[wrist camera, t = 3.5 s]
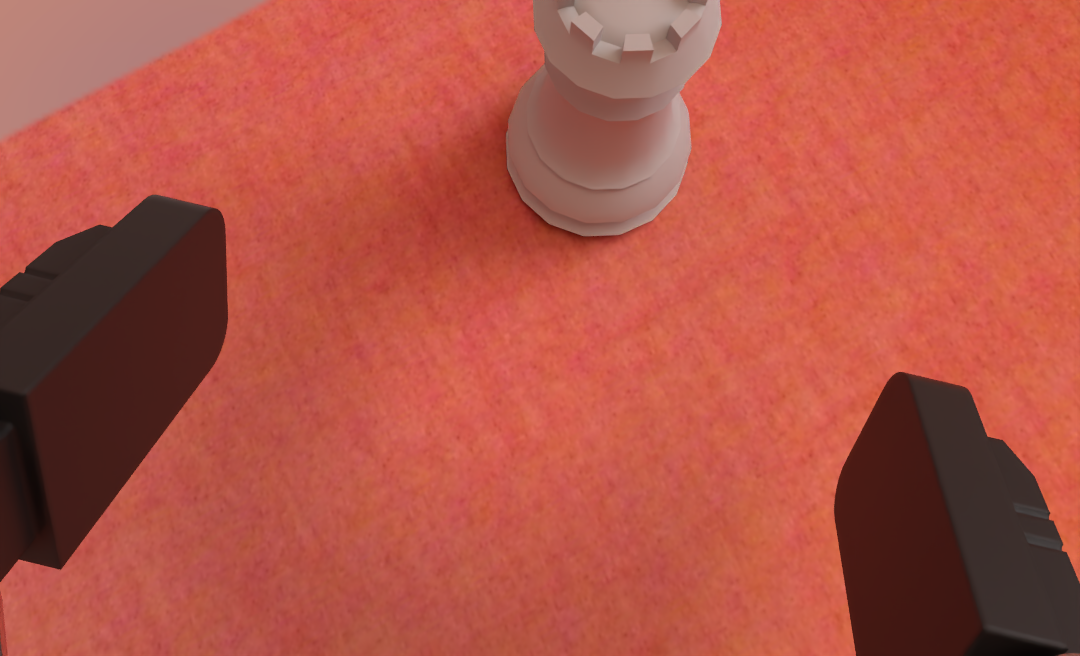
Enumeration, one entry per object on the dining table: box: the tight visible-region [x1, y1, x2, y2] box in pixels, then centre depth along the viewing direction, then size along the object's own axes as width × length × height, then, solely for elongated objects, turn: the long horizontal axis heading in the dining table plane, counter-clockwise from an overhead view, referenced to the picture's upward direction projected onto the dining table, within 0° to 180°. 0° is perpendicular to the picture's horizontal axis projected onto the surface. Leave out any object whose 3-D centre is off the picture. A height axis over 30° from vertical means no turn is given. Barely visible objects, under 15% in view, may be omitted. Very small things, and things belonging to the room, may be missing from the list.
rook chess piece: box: [506, 0, 722, 236], centre depth 19 cm, size 4×4×8 cm
